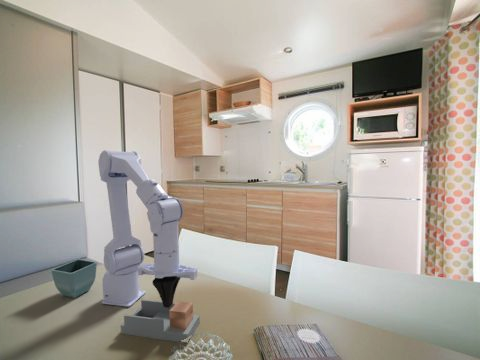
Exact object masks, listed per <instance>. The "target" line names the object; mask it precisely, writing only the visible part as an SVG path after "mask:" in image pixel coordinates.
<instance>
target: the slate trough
mask: <svg viewBox="0 0 480 360" xmlns="http://www.w3.org/2000/svg"><path fill="white" fill-rule="evenodd" d="M140 303H141V304H140V305H141V307H140V308H138V309H136V310H135V311H134V312H133V313H132V314H131V315H129V314H124V315H123V323H122V324H120V334H121V335H122V334H123V335H130V336H136V337H143V338H151V339H155V340H163V341H170V342H179V341H181V340H184V339H186V338H188V337H189V336H191V335H192V336H193V335H194V334H195V331H196V330H197V328H198V327H199V325H200V322H201V321H200V315H199V314H193V320H192V321H191V323H190V324H189V326H188V327H187V329H186V330H185V329H178V328H171V327H170V314H169V310H170V309H171V308H172V307H173V306H174V305H175V304H176V302H173V304H172V305H171V306H170V307H169V308H166V307H164V306H163V303H162V300H151V299H141V300H140ZM179 343H180V342H179Z"/></svg>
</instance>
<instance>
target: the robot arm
mask: <svg viewBox="0 0 480 360" xmlns="http://www.w3.org/2000/svg"><path fill="white" fill-rule="evenodd" d="M98 157H99V158H98V163H97V164H98V171H99V176H100V180H101V181H102V182H104V183H105V184H106V188H107V197H108V202H109V204H108V205H109V211H110V213H109V214H110V220H111V229H112V236H113V237H112V239H111V240H110V241H109V242H108V243H107V244H106V245H105V246H104V248H103V253H104V255H103V264H104V265H103V266H104V268H105V270H106V272H105V273H104V274H103V277H102V297H103V298H102V301H101V302H100V304H102V305H108V306H109V305H111V306H119V307H127V308H128V307H131V306H132V305H133V304H135V303H136V302H137V301H138V300H139V299H140V298H141V297H142V296H144V295H145V294H146V291H145V290H140V277H139V276H143V275H147V276H148V275H149V276H150V275H151V276H154V279H153V280H152V285H153V286H154V288H155V289H156V290H157V292H158V294H159V297H160V299H161V300H160V301H161V302H162V303H163V306H164V307H166V308H169V307H170V306H171V305H172V304H173V303H174V298H175V295H176V294H175V293H176V290H177V288H178V284H179V282H180V279H182V278H183V279H189V280H191V281H195V280H196V279H197V277H198V268H196V267H190V266H187V265H183V264H180V243H179V241H180V240H179V239H180V238H179V237H180V236H179V221H181V220H182V219H183V215H184V208H183V205H182V202H181V201H180V199H179V198H178V197H173V196H171V195H170V196H169V194H167V193H166V191H165V190H164V188H163V187H162V186H161V185H160V184H159V182H158V181H157V180H156V179H151V178H149V176H148V175H147V173H146V172H145V170H144V168H143V166H142V157H141V155H140V154H139V153H138V152H137V151H117V150H115V151H114V150H113V151H111V150H102V151H101V153H100V154H99V156H98ZM128 181H131V182H132V183H133V184H134V185H135V187H136V190H135V191H136V195H137V197H138V198H139V200H140V201H141V203H142V204H143V205H144V206H145V208H146V209H147V212H146V215H147V220H148V222H149V226H150V232H151V233H152V234H153V235H152V238H153V241H152V242H153V263H150V264H149V263H148V264H146V263H143V262H144V260H145V250H144V248H143V246H142V241H141V239H140V238H138V237H136V236H134V235H133V233H132V226H131V219H130V217H131V216H130V210H129V203H128V202H129V201H128V196H127V189H126V184H127V182H128Z"/></svg>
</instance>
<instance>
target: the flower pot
mask: <svg viewBox="0 0 480 360" xmlns="http://www.w3.org/2000/svg"><path fill="white" fill-rule="evenodd" d="M97 265H98V262H97V261H93V260H87V259H86V260H85V259H75V260H72V261H70V262H68V263H65V264H63V265H60V266H58V267H55V268H52V269H51V275H52V280H53V283H54V286H55V288H56V289H57V291H58V292H59V293H60V294H61V295H62V296H65V297H68V298H72V299H73V298H74V299H76V298H78V297H80V296H81V295H83V294H85V293H86V292H89V291H90V290H91V288H92V286H93V285H94V282H95V280H96V278H97V277H96V276H97V268H98V267H97Z"/></svg>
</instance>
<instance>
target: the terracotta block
mask: <svg viewBox="0 0 480 360" xmlns="http://www.w3.org/2000/svg"><path fill="white" fill-rule="evenodd" d="M175 303H176V304H175V305H174V306H173V307H172V308H171V309H170V310H169V314H170V327H171V328H178V329H185V330H186V329H187V327H188V326H189V324H190V323H191V321H192V320H193V315H194V305H193V304H194V303H193V302H189V301H181V300H180V301H179V300H178V301H176V302H175Z"/></svg>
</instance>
